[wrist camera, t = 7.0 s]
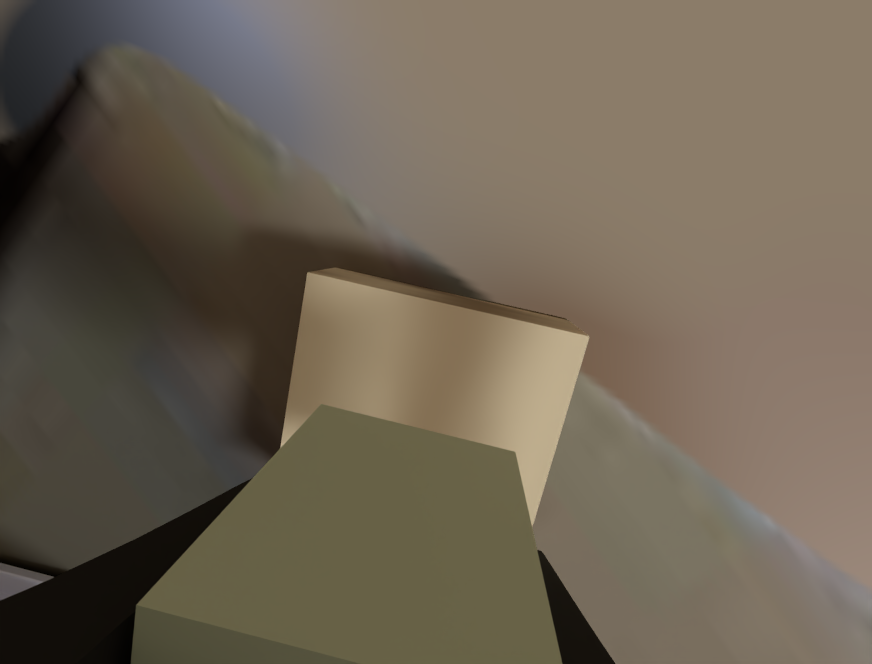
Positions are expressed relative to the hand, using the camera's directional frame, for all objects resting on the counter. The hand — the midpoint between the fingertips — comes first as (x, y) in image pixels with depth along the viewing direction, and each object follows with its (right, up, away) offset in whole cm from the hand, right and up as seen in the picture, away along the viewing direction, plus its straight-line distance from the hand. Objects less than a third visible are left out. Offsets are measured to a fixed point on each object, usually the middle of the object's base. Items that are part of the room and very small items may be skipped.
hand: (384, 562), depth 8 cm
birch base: (+1, +2, +8) cm, 8 cm away
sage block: (0, 0, +1) cm, 1 cm away
